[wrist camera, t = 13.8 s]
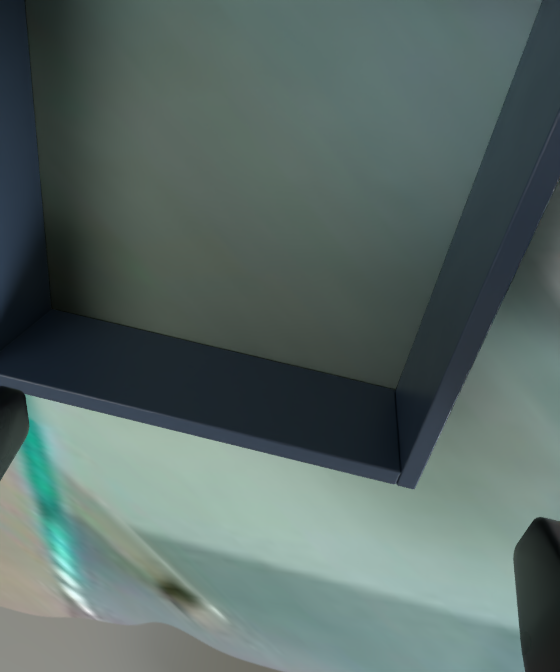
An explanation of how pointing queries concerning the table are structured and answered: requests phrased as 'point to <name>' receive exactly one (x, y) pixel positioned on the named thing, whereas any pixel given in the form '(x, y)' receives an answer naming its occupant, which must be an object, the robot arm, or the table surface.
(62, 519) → the table surface
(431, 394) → the storage box
